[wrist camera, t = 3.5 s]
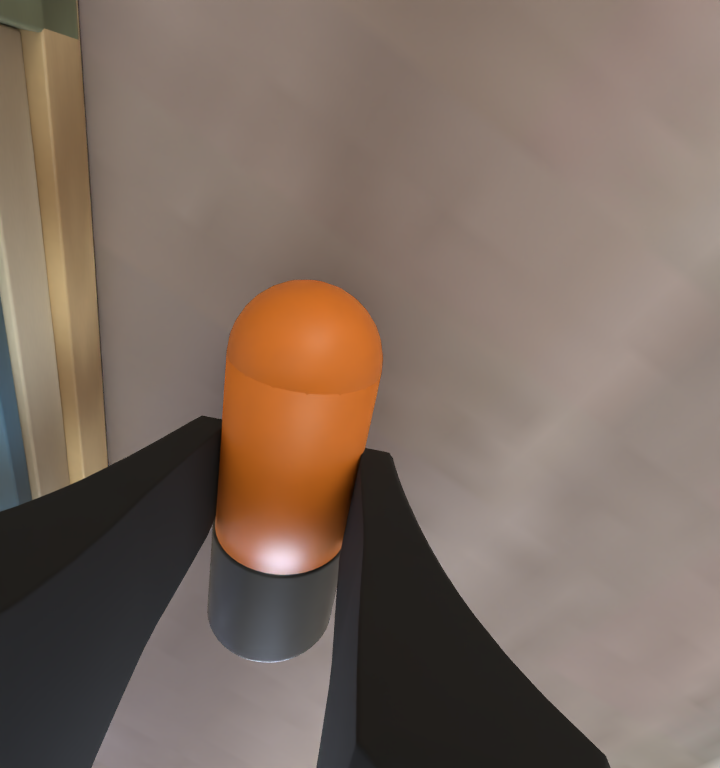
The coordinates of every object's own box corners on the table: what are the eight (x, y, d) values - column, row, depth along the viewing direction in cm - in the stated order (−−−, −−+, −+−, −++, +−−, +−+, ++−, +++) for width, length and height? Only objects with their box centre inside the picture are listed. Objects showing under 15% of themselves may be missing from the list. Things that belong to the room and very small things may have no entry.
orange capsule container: (336, 574, 14) (319, 678, 11) (230, 553, 14) (186, 652, 11) (401, 280, 10) (399, 325, 7) (256, 251, 10) (200, 286, 7)
